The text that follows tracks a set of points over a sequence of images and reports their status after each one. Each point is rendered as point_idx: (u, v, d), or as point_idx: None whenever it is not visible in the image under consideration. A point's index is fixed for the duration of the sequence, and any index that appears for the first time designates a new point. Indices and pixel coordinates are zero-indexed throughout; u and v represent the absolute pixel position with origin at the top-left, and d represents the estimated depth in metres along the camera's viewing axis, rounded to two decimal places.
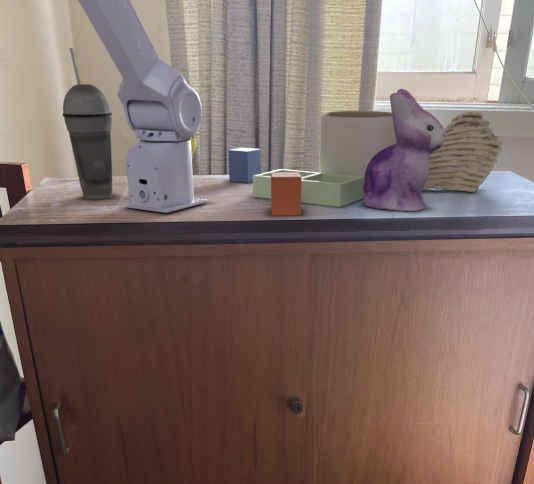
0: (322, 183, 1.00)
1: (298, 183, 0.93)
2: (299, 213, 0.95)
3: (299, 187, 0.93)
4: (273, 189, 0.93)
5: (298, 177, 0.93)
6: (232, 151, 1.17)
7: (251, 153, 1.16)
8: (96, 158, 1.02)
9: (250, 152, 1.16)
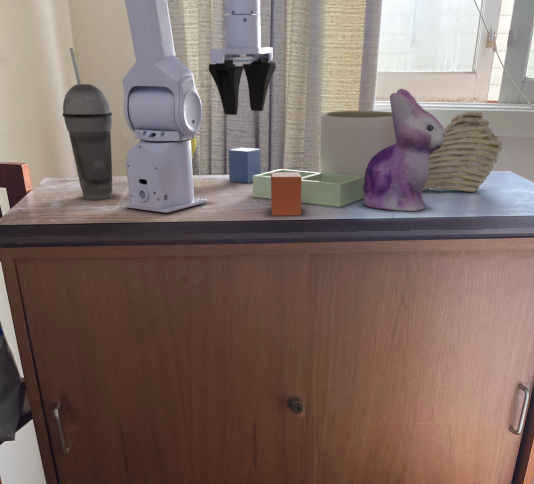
0: (322, 183, 1.00)
1: (298, 183, 0.93)
2: (299, 213, 0.95)
3: (299, 187, 0.93)
4: (273, 189, 0.93)
5: (298, 177, 0.93)
6: (232, 151, 1.17)
7: (251, 153, 1.16)
8: (96, 158, 1.02)
9: (250, 152, 1.16)
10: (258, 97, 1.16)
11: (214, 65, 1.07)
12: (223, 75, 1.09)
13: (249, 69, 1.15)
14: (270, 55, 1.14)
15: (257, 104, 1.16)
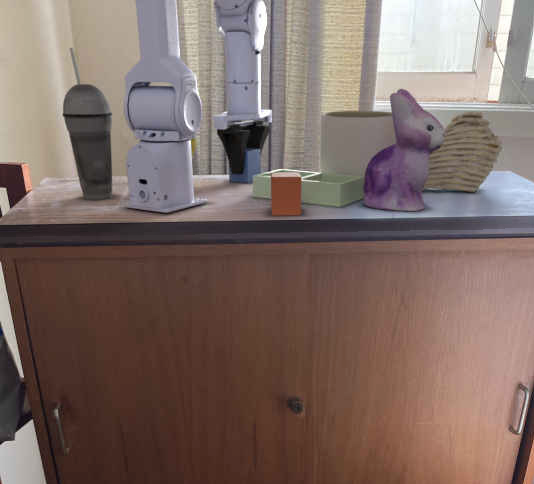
0: (322, 183, 1.00)
1: (298, 183, 0.93)
2: (299, 213, 0.95)
3: (299, 187, 0.93)
4: (273, 189, 0.93)
5: (298, 177, 0.93)
6: None
7: (251, 153, 1.16)
8: (96, 158, 1.02)
9: (250, 152, 1.16)
10: None
11: (222, 129, 1.13)
12: (230, 138, 1.15)
13: None
14: (269, 117, 1.19)
15: None
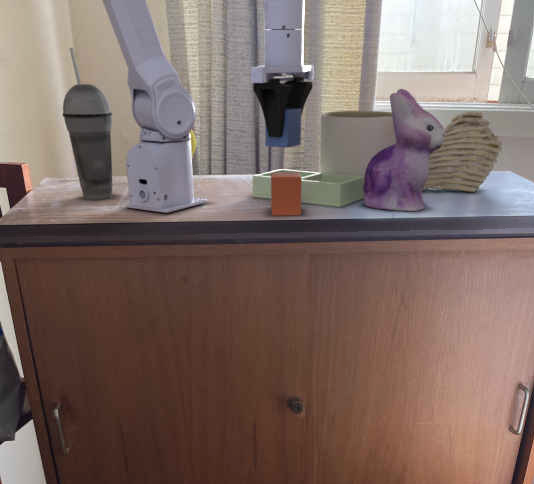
0: (322, 183, 1.00)
1: (298, 183, 0.93)
2: (299, 213, 0.95)
3: (299, 187, 0.93)
4: (273, 189, 0.93)
5: (298, 177, 0.93)
6: None
7: (291, 113, 1.02)
8: (96, 158, 1.02)
9: (290, 112, 1.02)
10: None
11: (260, 84, 0.99)
12: (268, 95, 1.00)
13: None
14: (310, 74, 1.05)
15: None
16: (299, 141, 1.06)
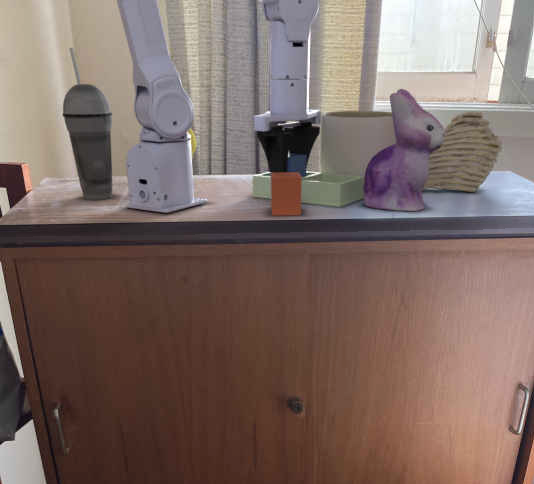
0: (322, 183, 1.00)
1: (298, 183, 0.93)
2: (299, 213, 0.95)
3: (299, 187, 0.93)
4: (273, 189, 0.93)
5: (298, 177, 0.93)
6: None
7: (296, 159, 1.04)
8: (96, 158, 1.02)
9: (295, 158, 1.03)
10: None
11: (263, 131, 1.00)
12: (272, 141, 1.02)
13: None
14: (317, 118, 1.06)
15: None
16: None
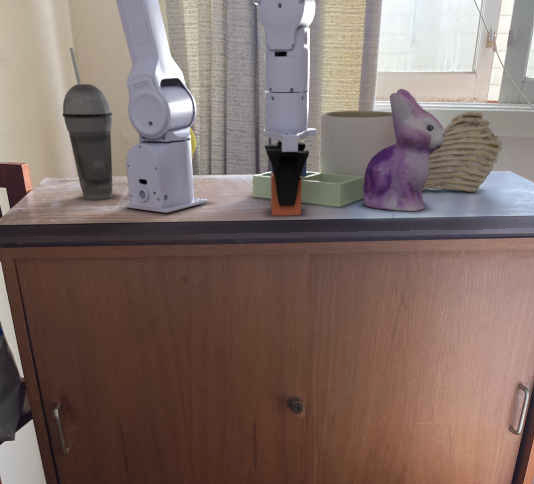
0: (322, 183, 1.00)
1: None
2: (299, 213, 0.95)
3: (299, 187, 0.93)
4: (273, 189, 0.93)
5: None
6: None
7: None
8: (96, 158, 1.02)
9: None
10: None
11: None
12: None
13: None
14: None
15: None
16: None
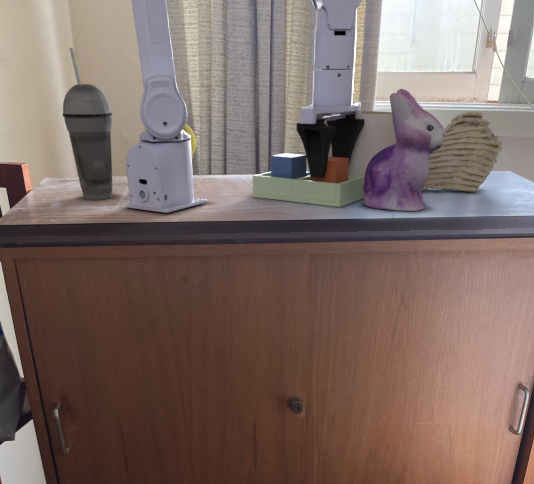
0: (322, 183, 1.00)
1: (333, 167, 1.00)
2: None
3: (334, 171, 1.00)
4: None
5: (333, 161, 1.00)
6: (275, 157, 1.04)
7: (296, 159, 1.04)
8: (96, 158, 1.02)
9: (295, 158, 1.03)
10: None
11: (356, 119, 1.03)
12: None
13: None
14: None
15: None
16: None
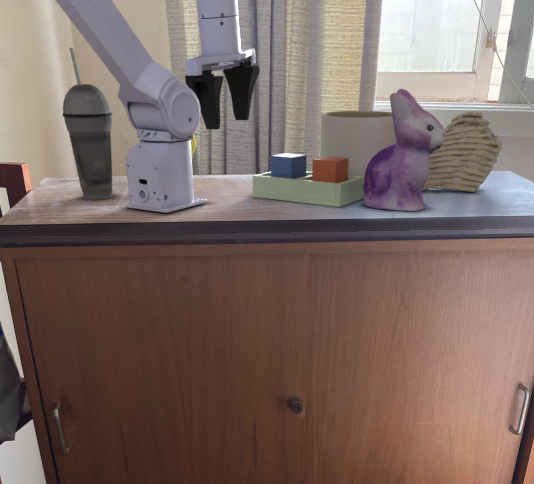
0: (322, 183, 1.00)
1: (333, 167, 1.00)
2: None
3: (334, 171, 1.00)
4: (313, 170, 1.02)
5: (333, 161, 1.00)
6: (275, 157, 1.04)
7: (296, 159, 1.04)
8: (96, 158, 1.02)
9: (295, 158, 1.03)
10: None
11: (252, 66, 1.03)
12: None
13: None
14: None
15: None
16: None
